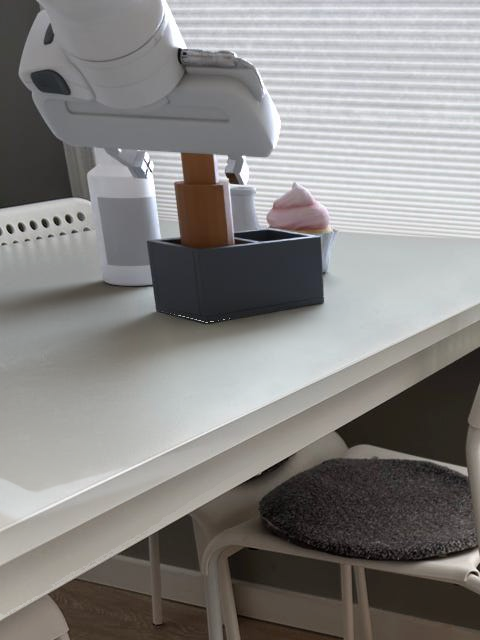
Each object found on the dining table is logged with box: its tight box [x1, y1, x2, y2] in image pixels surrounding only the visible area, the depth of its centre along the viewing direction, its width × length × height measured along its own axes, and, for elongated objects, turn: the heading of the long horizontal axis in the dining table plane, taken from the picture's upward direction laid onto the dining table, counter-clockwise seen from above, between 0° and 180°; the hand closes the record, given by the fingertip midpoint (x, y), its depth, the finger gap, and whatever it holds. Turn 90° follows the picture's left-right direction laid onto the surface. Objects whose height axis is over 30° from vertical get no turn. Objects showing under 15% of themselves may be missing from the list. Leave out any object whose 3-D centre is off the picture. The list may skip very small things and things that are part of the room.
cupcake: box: [262, 181, 340, 273], centre depth 115 cm, size 9×9×10 cm
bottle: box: [173, 153, 235, 249], centre depth 92 cm, size 5×5×15 cm
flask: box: [230, 186, 261, 232], centre depth 107 cm, size 7×7×10 cm
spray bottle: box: [86, 148, 162, 287], centre depth 104 cm, size 7×7×18 cm
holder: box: [147, 227, 325, 325], centre depth 97 cm, size 8×15×7 cm, turn 141°
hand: (192, 176), depth 89 cm, fingers open, 8 cm apart
